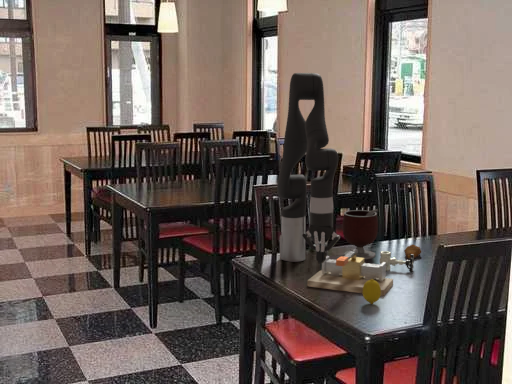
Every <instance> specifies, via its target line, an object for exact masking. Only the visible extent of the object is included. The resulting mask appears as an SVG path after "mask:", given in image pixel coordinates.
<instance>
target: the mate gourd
mask: <svg viewBox="0 0 512 384" xmlns="http://www.w3.org/2000/svg"><path fill="white" fill-rule="evenodd" d="M378 211H379V209H378V208H376V209H373V210H365V209H364V210H363V209H354V210H347V211H344V212H343V218H342V225H341V226H342V235H343V238H344V239H345V242H347V243H348V244H350V245H352V246H355V249H357V250H358V254H356V257H359V258H365V260H370V259H374V258H375V257H376V252H374V251H370V250H365V249H364V247H367V246H368V245H371V244H373V242H374V241H375V240H376V239H377V236H378V232H379V221H378V215H377V214H378V213H377V212H378ZM348 252H350V250H346V251H345V252H344V254H343V255H344V256H345V255H346V254H347V253H348ZM344 256H343V257H344Z"/></svg>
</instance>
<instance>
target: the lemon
mask: <svg viewBox="0 0 512 384" xmlns="http://www.w3.org/2000/svg"><path fill="white" fill-rule="evenodd" d="M380 295H381V288H380V285H379V283H378V282H377V281H375V280H373V279H371V280H368V281H367V282H366V283H365V284H364V286H363V293H362V296H363V299H364V300H365V301H366V302H367V303H369V304H371V305H373V304H374V303H376V302H377V301H379V299H380V297H381V296H380Z"/></svg>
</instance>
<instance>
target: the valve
mask: <svg viewBox="0 0 512 384" xmlns="http://www.w3.org/2000/svg"><path fill="white" fill-rule="evenodd" d="M379 253H380V254H379V256H380V257H379V265H381V264H382V263H383V262H386V272H388V271H389V272H390V270H391V266H392V267H393V266H394V267H395V266H396V265H399V266H403V265H405V266H406V268H407V269H408V271H409V272H410V273H413V272H414V269H415V267H414V263H415V260H414V259H413V258H414V255H413V254H410V256H411V258H409V259H406V260H403V259H399V260H398V259H397V258H396V257H392V258H391V255H392V252H391V251H388V250H383V251H380V252H379Z"/></svg>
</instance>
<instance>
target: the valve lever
mask: <svg viewBox="0 0 512 384" xmlns="http://www.w3.org/2000/svg"><path fill="white" fill-rule="evenodd" d="M349 251H350V252H348V253H347V254H346V255H345V256H339V257H338V258H336V259H335V260H336V266H345V265H346V264H347V263H348V260H349V259H350V258H351V257H352V256H353V255H355V254H358V250H357V249H356V248H351V249H349Z"/></svg>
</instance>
